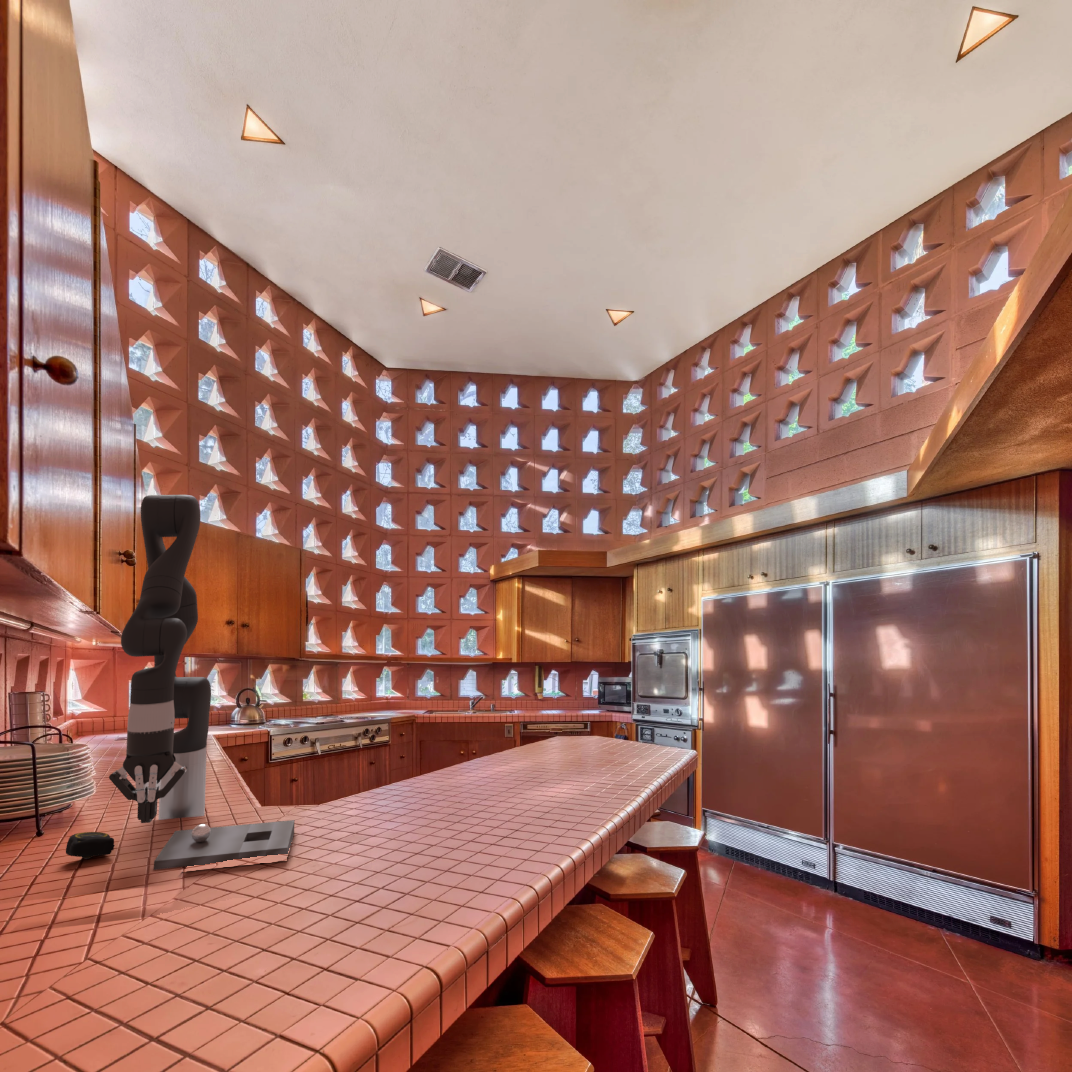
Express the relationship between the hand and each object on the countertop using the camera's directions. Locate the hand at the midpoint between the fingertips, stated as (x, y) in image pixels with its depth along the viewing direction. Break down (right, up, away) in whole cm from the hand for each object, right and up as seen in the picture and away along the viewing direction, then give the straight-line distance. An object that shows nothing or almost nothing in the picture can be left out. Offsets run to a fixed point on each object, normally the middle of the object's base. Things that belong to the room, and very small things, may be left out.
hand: (147, 821), depth 120 cm
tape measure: (-11, -7, -2) cm, 13 cm away
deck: (+14, -7, +4) cm, 16 cm away
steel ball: (+9, -3, +2) cm, 10 cm away
